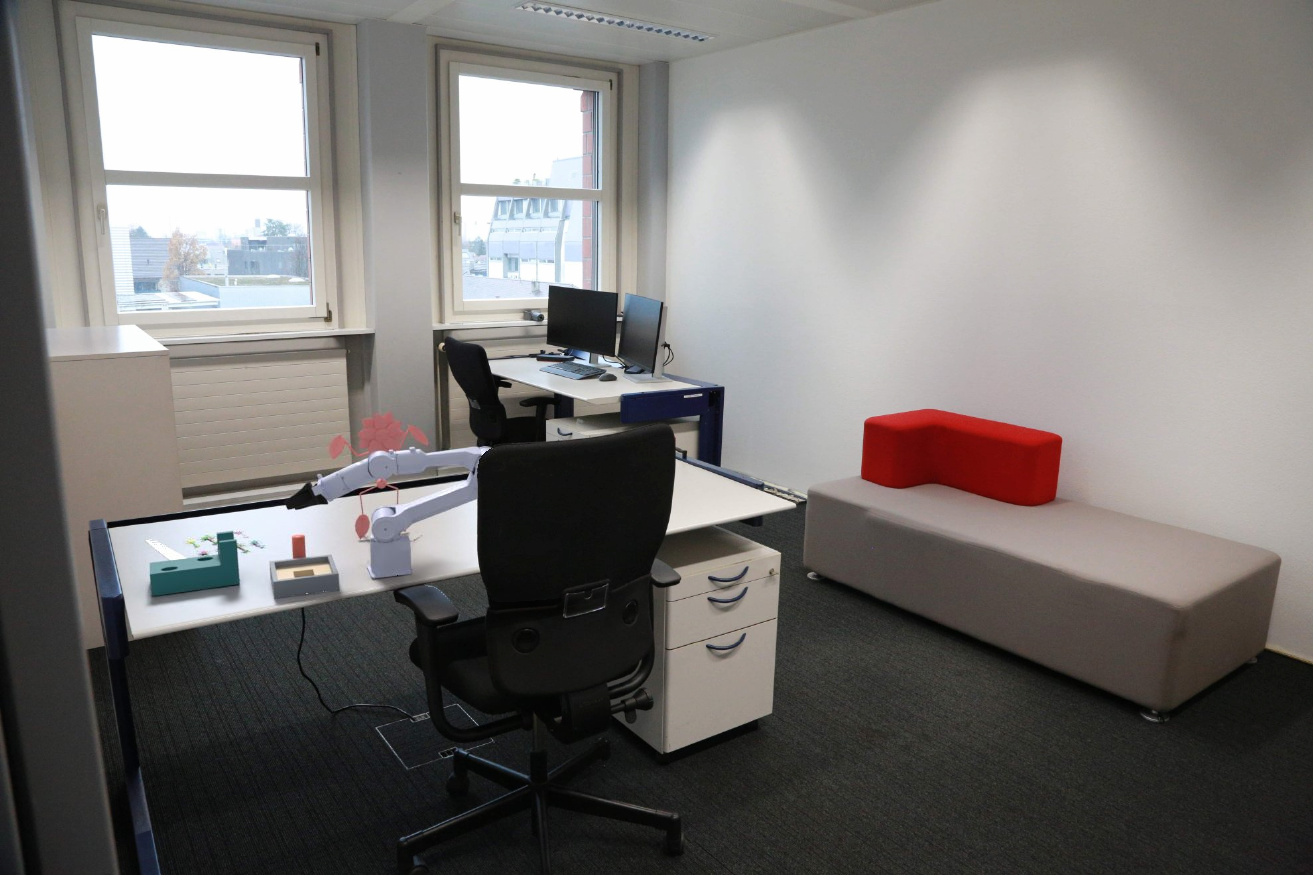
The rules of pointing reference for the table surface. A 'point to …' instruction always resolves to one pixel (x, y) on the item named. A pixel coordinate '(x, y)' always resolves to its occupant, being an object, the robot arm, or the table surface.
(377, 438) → the figurine
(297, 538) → the peg
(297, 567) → the box
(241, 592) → the table surface
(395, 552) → the robot arm
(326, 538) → the table surface
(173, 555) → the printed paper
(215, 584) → the teal l-shaped bracket
